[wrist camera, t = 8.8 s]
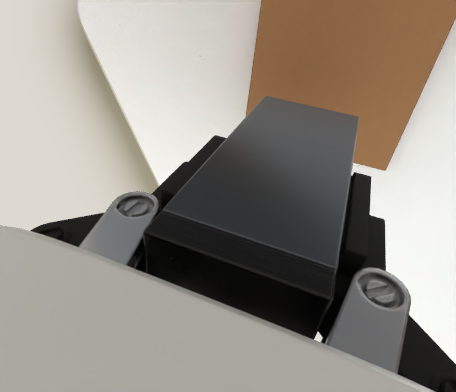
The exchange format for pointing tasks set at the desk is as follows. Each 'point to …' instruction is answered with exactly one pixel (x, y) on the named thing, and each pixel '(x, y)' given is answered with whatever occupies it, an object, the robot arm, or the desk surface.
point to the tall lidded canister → (263, 216)
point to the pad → (351, 61)
